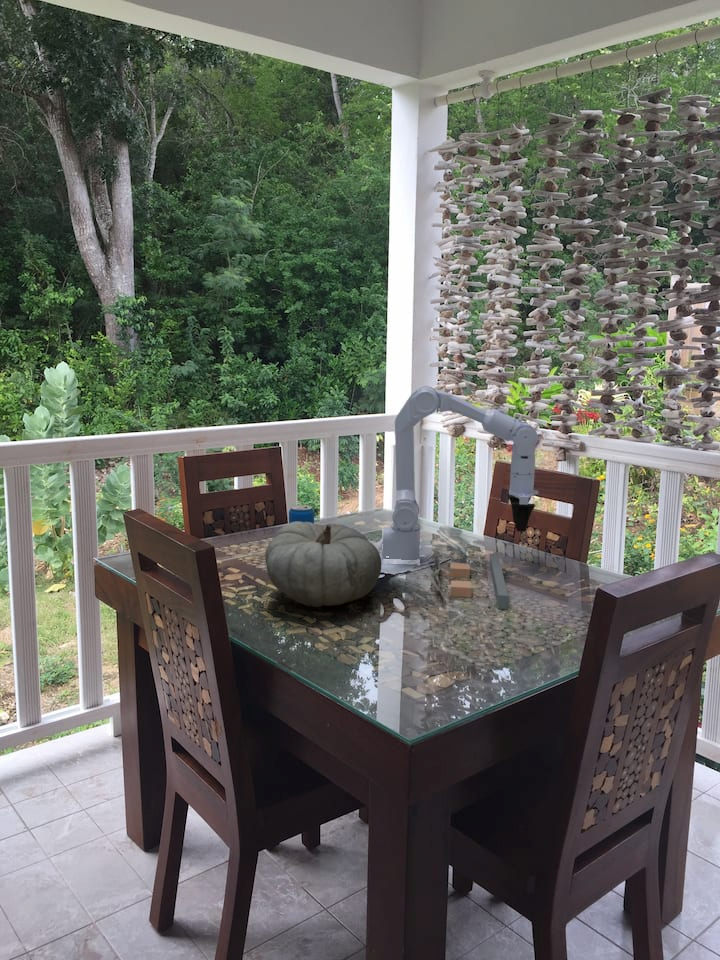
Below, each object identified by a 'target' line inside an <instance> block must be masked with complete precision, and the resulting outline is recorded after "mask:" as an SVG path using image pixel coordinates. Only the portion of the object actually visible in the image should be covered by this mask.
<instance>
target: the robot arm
mask: <svg viewBox="0 0 720 960" xmlns="http://www.w3.org/2000/svg"><path fill="white" fill-rule="evenodd" d="M438 408H439V413H442V412H443V413H444V412H454V413H457V414H459V415H462V416H464V417H466V418H469V419H471V420H473V421H475V422H478V423H480V424H481V426H482V429H483V430H484V431H485V432H487V433H489V434H491V435H494V436H495V437H498V438H500V439H502V440H505V441H507V442H510V441H511V442H513V443H512V452H511V455H510V456H511V459H510V474H509V475H510V476H509V477H510V478H509V490H508V495H507V498H508V500H509V502H510V506H511V512H512V518H513V519H512V520H513V523H514V524H515V529H516V531H517V532H527V528H528V525H529V524H528V523H529V520H530V517H531V515H532V512H533V510H534V509H535V508H536V507H535V506H536V504H535V503H530V501H531V499H532V497H533V496H534V495H536V496H537V495H539V490H536V489H534V487H535V486H534V485H535V472H536V471H535V470H536V469H535V468H536V454H535V453H536V445H537V443H538V441H539V436H538V432H537V430H536V429H535V428H534V426H532V425H531V424H530V423H528V421H523V419H521V418H520V417H518V418H515V417H514V416H512V415H509V414H507V413H506V412H505V410H504V409H502V408H499V409H496V408H492V409H490V410H485V409H482V408H481V407H479V406H476V405H475V404H473V403H471V402H468V401H466V400H465V399H463V398H461V397H459V396H456V395H455V394H452V393H450V392H448V391H447V392H446V391H443V390H441V389H435V388H433V387H432V386H428V385H427V386H421V387H419V388H417V389H416V390H415V391H414V392H413V393H412V394H410V395H409V397H408V398H407V400H406V401H405V403H404V405H402V407H401V409H400V410H399V412H398V414H397V415H396V417H395V420H394V436H395V437H394V438H395V440H394V441H395V444H394V445H395V480H396V483H395V484H396V491H395V506H394V510H393V513H392V518H391V519H392V522H393V523H391V526H385V527H383V531H382V549H381V560H382V559H401V560H417V559H420V554H421V553H420V550H421V549H420V546H421V545H420V544H421V525H420V524H419V523H418V522H419V514H420V506H419V504H418V502H417V500H416V486H415V485H416V484H415V482H416V481H415V438H414V437H415V432H414V430H415V429H414V428H415V426H417V424H418V423H420V422H421V421H422V419H425V418H427V417H428V416H430V415H432V414H434V413H435V412H436V411H437V410H438ZM386 556H389V558H386Z"/></svg>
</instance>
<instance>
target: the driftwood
mask: <svg viewBox="0 0 720 960" xmlns="http://www.w3.org/2000/svg"><path fill="white" fill-rule="evenodd" d="M432 551H433V552H434V554H435V557H434V561H433V564H434V565H433V566H430V570H431V571H432V572H434V574H433V575H432V578H433V581H435V584H436V585H437V587H438V590H439V592H440V597H441V598H442V600H443V604H444V605H445V606H447V601H446V599H445V595H444V594H443V587H442V584H441V581H440V579H439V574H440V570H441V562H440V558H439V555H438V553H439V549H438V547H435V549H433V550H432Z"/></svg>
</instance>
